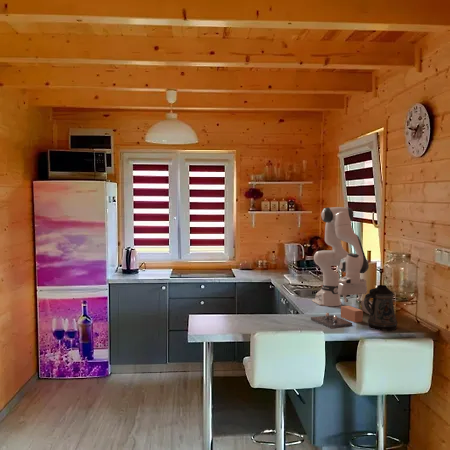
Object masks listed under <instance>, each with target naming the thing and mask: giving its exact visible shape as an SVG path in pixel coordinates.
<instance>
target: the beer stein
mask: <svg viewBox="0 0 450 450" xmlns="http://www.w3.org/2000/svg"><path fill="white" fill-rule="evenodd" d="M394 295H395V294H394V292H393V291H392V290H390V289H389V288H388V286H387V285H385V284H378V285H377V287H375V288H371V289H369V292H368V293H366V294H365V296H364V299H363V301H364V305H365V308H366V309H367V311H368V312H369V313H370V315H369V316H368V317H369V318H368V320H367V323H368V327H369V328H370V329H372V330H376V331H381V332H393V331H392V330H394V331H396V330H395V329H397V328H398V327H397V326H398V321H397V318H396V314H395V309H394V307H395V306H394V300H393V298H394ZM371 299H372V300H371ZM369 301H371V302H372V306H371V308H370V306H369Z"/></svg>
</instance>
